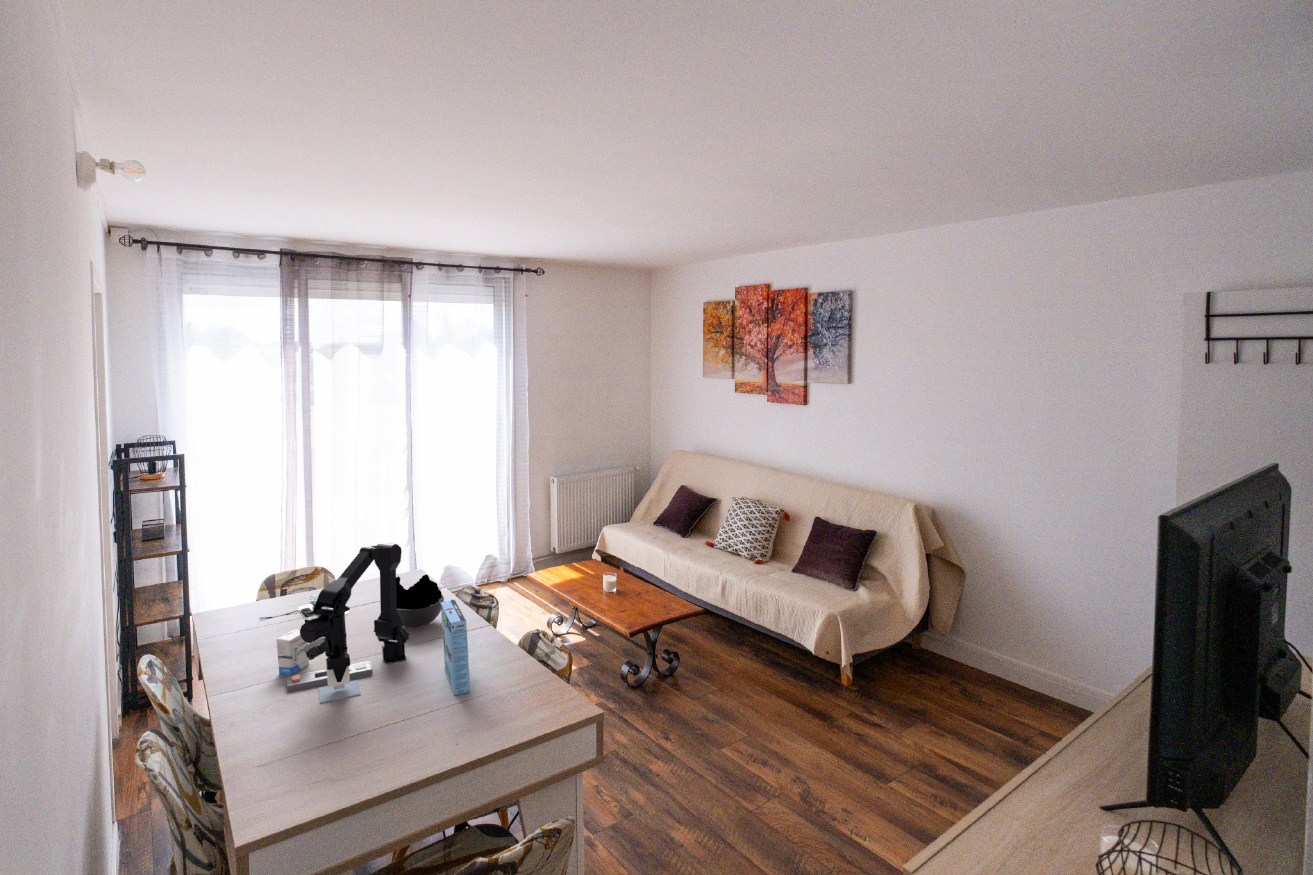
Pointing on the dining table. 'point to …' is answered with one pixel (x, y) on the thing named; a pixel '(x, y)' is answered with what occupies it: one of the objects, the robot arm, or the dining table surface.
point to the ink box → (291, 653)
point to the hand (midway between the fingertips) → (338, 678)
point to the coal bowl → (418, 602)
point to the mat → (339, 692)
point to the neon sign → (307, 608)
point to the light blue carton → (455, 647)
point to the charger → (333, 682)
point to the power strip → (325, 676)
